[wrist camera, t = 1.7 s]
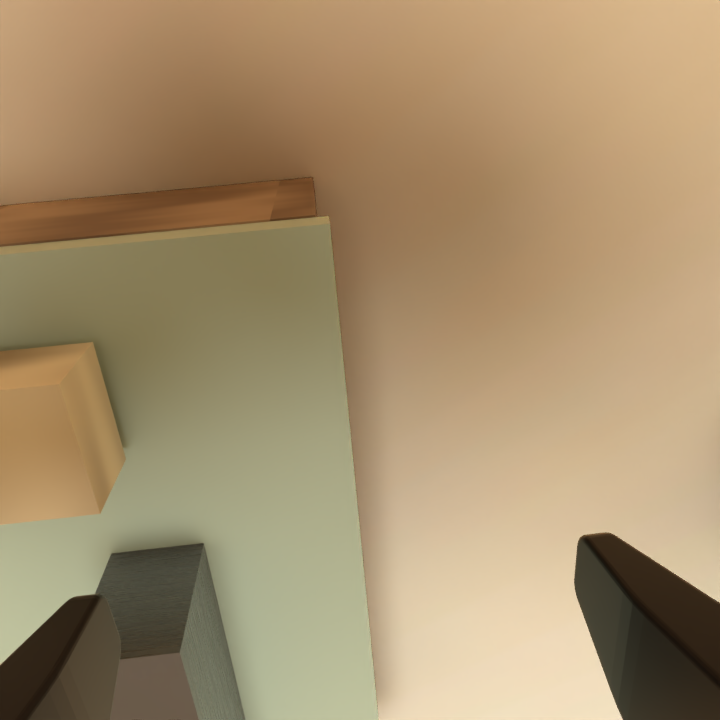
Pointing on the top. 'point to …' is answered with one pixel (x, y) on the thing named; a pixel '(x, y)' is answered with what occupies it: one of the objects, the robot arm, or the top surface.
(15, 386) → the tan beveled box
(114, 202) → the toolbox
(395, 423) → the top surface
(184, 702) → the lid
